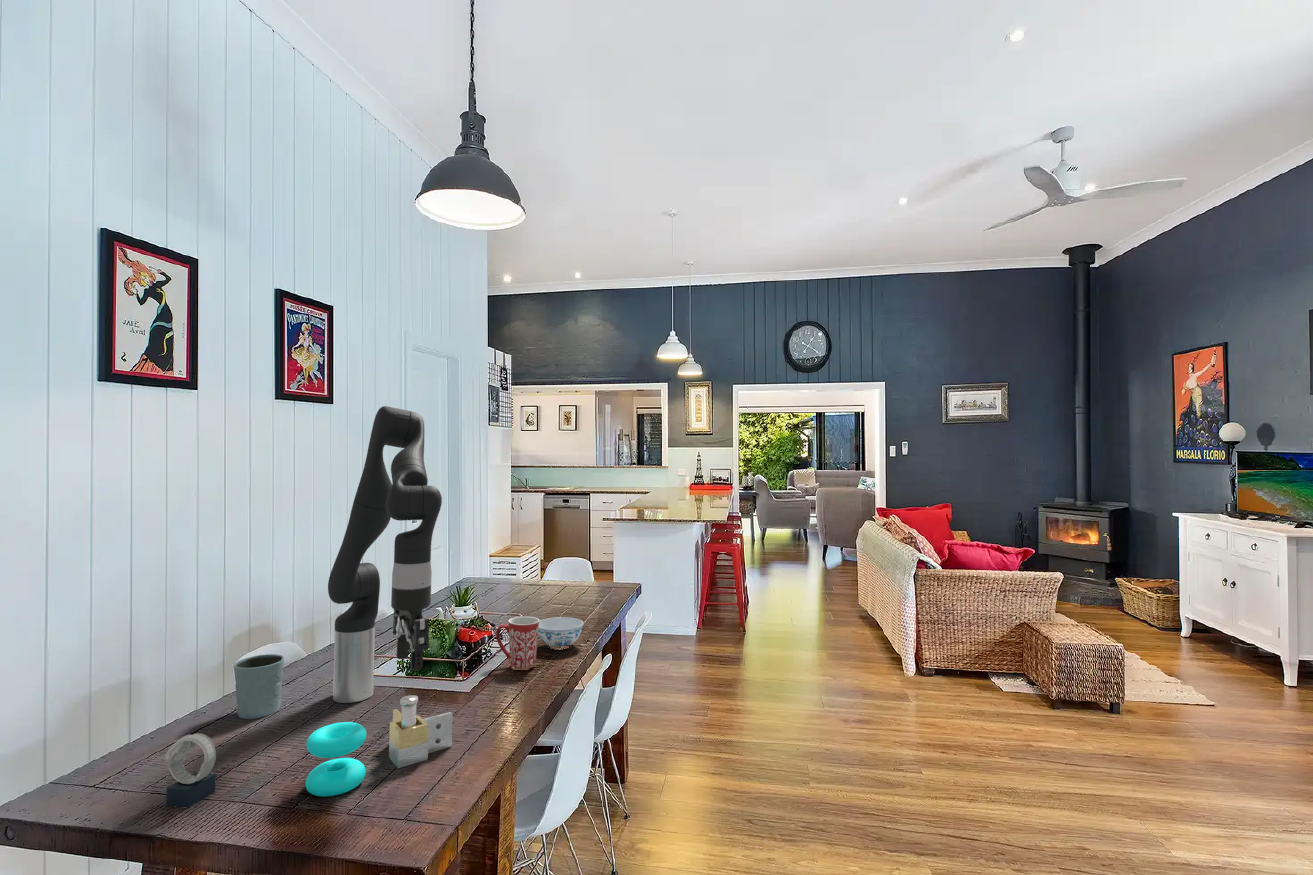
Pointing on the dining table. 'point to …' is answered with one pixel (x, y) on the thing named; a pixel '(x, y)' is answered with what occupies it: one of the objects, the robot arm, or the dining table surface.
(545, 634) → the chinaware
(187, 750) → the watch
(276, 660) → the embossed green planter pot
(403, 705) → the hinge pin
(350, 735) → the donuts
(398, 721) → the bracket
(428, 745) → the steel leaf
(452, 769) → the dining table surface
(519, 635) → the mug
